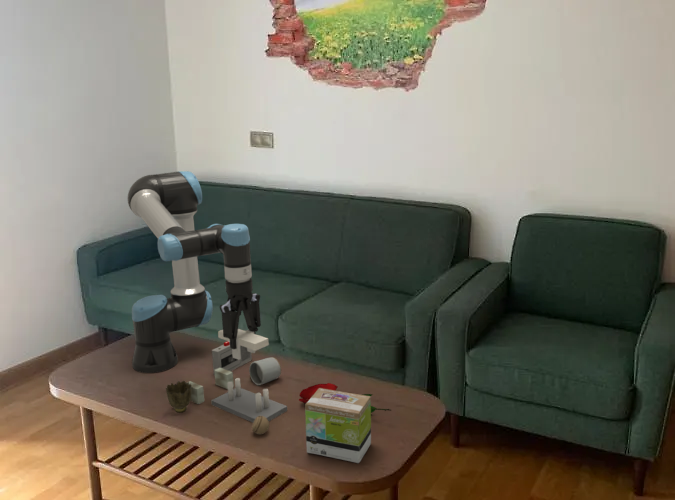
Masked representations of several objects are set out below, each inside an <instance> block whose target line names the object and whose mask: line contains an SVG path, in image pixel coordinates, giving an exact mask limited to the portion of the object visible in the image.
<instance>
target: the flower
mask: <svg viewBox="0 0 675 500" xmlns="http://www.w3.org/2000/svg"><path fill="white" fill-rule="evenodd" d="M338 387H339V386H337V385H336V384H334V383H331V382H327V383H317V384H315V385H310V386H308V387H307V388H304V389H302V390H300V393H299V397H300V398H298V401H299V402H301V403H304V404H306V403H307V402H308V401H309V400H310V398H311V397H312V396H313V395H314V394H315V392H316V391H317V390H318V389H319V388H323V389H329V390H334V391H337V389H338ZM362 395H365V396H371V397H372V396H373V395H374V394H373V393H372V394H371V393H364V394H362ZM377 410H378V411H384V412H386V411H391V412H392V409H391V408H377V407H376V406H373V405H371V414H372V413H374V412H375V411H377Z"/></svg>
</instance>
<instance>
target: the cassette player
mask: <svg viewBox="0 0 675 500" xmlns="http://www.w3.org/2000/svg"><path fill="white" fill-rule="evenodd" d="M240 354H241V359H240V360H238V359H235V358H233V355H232V349H231V348H230V342H229V341H225V342H223V344H221V345H219V346H218V347H216V348H213V349H211V356H212V370H213V376H215V372H214V370H216V369H218V368H223V369H225V370H228V371H230V372H233V371H234V370H236V369H238V368H240V367H242V366H244V365H246V364H247V363H249V362H251V361H252V360H253V356H252V354H253V353H251V352H248V351H247V347H244V346H241V345H240Z"/></svg>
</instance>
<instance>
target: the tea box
mask: <svg viewBox="0 0 675 500" xmlns="http://www.w3.org/2000/svg"><path fill="white" fill-rule="evenodd" d="M371 400H372V396H365V395H363V394H357V393H354V392H353V393H351V392H346V391H340V390H336V391H334V390H329V389H323V388H319V389H318V390H317V391H316V392H315V394H314V395H313V396H312V397H311V398H310V400H309V401H308V402H307V403H304V413H305V414H304V416H305V442H306V443H305V444H306V453H307V454H314V455H318V456H324V457H328V458H333V459H338V460H343V461H346V462H347V461H348V462H351V463H356V464H359V463H360V462H361V461H362V459H363V458H364V456H365V454H366V453H367V451H368V449H369V447H370V446H371V444H372V413H371V406H372V403H371V402H372V401H371Z"/></svg>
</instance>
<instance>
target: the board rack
mask: <svg viewBox="0 0 675 500" xmlns="http://www.w3.org/2000/svg"><path fill="white" fill-rule="evenodd" d="M214 372H215V375H214V380H215V381H214V382H215V385H216V386H218V387H221V388H223V389H226V390H228V385H227V383H228V382H233V388H235V381H234V372H233V371H228V370H225V369H223V368H218V369H216V370H214ZM214 372H213V373H214ZM188 382H189V384H190V383H191V401H190V402H192V403H194V404H197V405H200V404H202V403H204V402H205V391H204V386H203V385H201V384H198V383H196V382H194V381H191V380H190V381H187V382H186V383H188Z"/></svg>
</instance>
